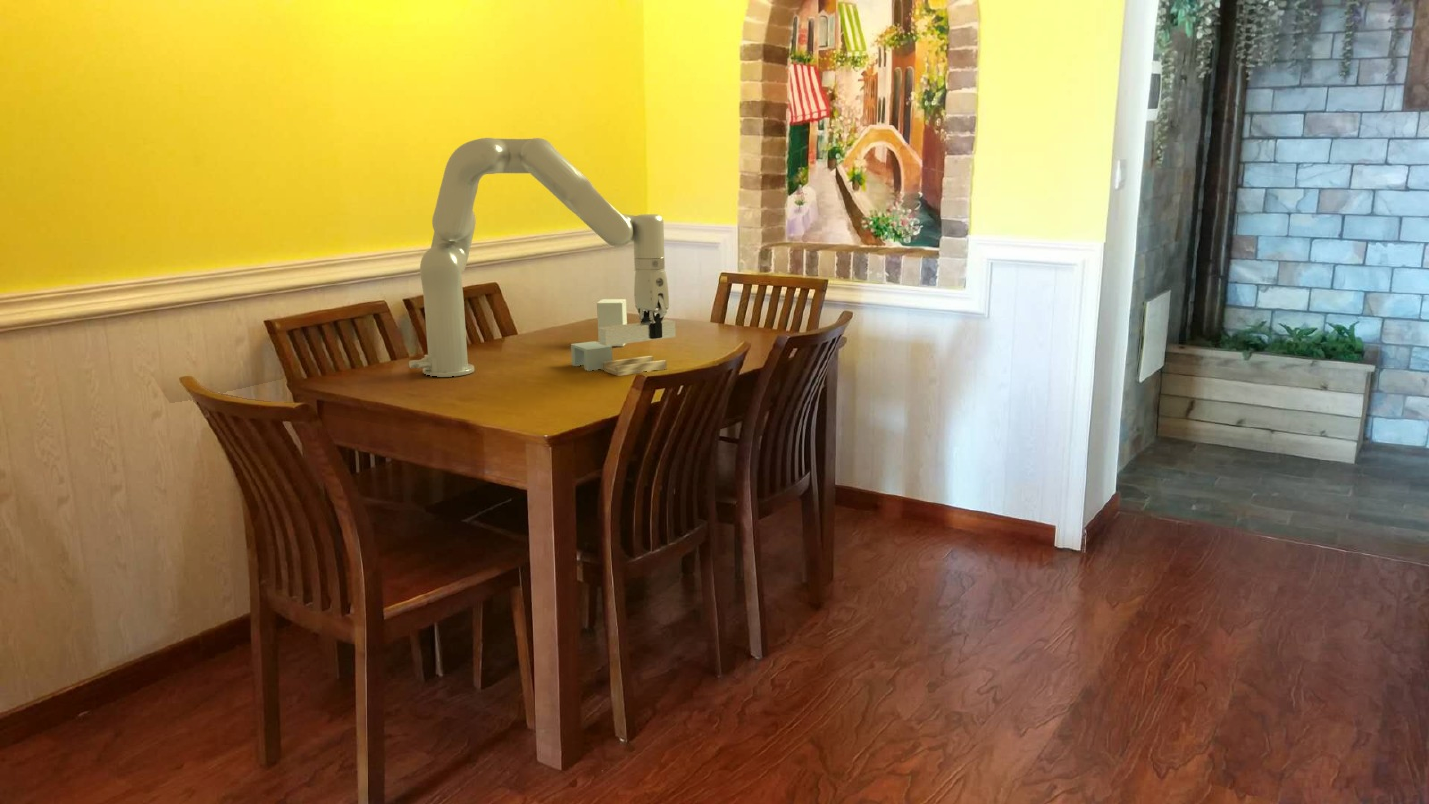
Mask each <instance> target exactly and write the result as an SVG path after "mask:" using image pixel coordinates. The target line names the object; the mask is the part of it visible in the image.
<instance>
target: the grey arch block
mask: <svg viewBox="0 0 1429 804" xmlns="http://www.w3.org/2000/svg"><path fill="white" fill-rule="evenodd" d="M570 355H571V357H570V358H571V366H573V367H579V366H580V365H581V366H584V370H585V371H586V370H587V371H586V372H592V370H594V371H599V370H598V369H601V370H603V362H607V361H614V360H613V346H604V345H601V344H599V341H587V342H577V343H576V342H575V343H571V344H570Z"/></svg>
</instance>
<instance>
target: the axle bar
mask: <svg viewBox="0 0 1429 804" xmlns="http://www.w3.org/2000/svg"><path fill="white" fill-rule="evenodd" d="M650 323H652V322H651V321H650V322H642V323H641V322H635V323H627V324H625V325H617V326H608V327H600V328H598V327H597V334H598V335H597V336H598V340H597V342H599V344H601V345H604V346H610V345H618V344H625V345H627V344H632V343H633V344H634V343H639V342H647V341H655V340H662V339H671V338H676V337H677V335H676V333H677V332H676V331H677V330H676V321H675V320H671V319H663V322H662V338H657V339H651V338H650Z"/></svg>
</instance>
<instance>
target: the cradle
mask: <svg viewBox="0 0 1429 804" xmlns="http://www.w3.org/2000/svg"><path fill="white" fill-rule="evenodd" d="M664 369H665V370H667V369H668V365H667V360H665V359H663V360H661V359H660V360H654V356H653V355H647V356H638V357H631V358H624V359H615V360H613V361H607V362H603V369H602V371H603V370H604V372H606V373H609V374H611V375H614V376H616V377H620V376H628V375H629V376H630V375H636V374H643V373H645V372H643V371H647V372H646V373H651V372H652V371H651V370H658V371H663V370H664ZM665 370H664V371H665Z"/></svg>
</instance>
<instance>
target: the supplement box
mask: <svg viewBox="0 0 1429 804" xmlns="http://www.w3.org/2000/svg"><path fill="white" fill-rule="evenodd" d="M596 311H597V329H598V328H600V327H608V326H617V325H625V324H628V320H627V319H628V317H627V315H628V314H627V299H626V298H623V299H621V298H619V299H618V298H602V299H600V300H599V301H598V302H596ZM625 345H626V344H618V345H610V346H611V347H625Z"/></svg>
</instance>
